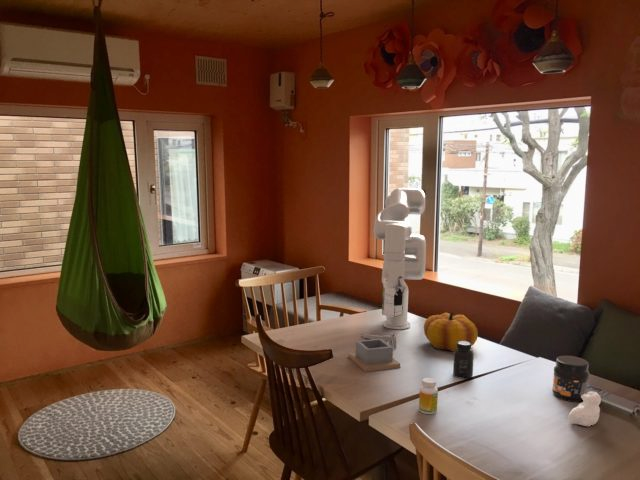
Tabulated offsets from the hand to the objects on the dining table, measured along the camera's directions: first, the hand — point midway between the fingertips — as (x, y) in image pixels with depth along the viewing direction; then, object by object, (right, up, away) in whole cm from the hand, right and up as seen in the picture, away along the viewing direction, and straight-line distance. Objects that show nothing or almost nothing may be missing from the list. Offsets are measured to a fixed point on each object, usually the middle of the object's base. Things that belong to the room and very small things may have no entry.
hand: (392, 302), depth 208 cm
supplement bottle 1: (+5, -29, -40) cm, 50 cm away
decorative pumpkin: (+26, -20, +18) cm, 37 cm away
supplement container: (+54, -28, -28) cm, 67 cm away
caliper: (-3, -20, +22) cm, 29 cm away
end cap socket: (-7, -22, -1) cm, 23 cm away
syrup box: (0, -5, +1) cm, 5 cm away
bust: (+50, -30, -47) cm, 75 cm away
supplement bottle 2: (+23, -25, -12) cm, 36 cm away
